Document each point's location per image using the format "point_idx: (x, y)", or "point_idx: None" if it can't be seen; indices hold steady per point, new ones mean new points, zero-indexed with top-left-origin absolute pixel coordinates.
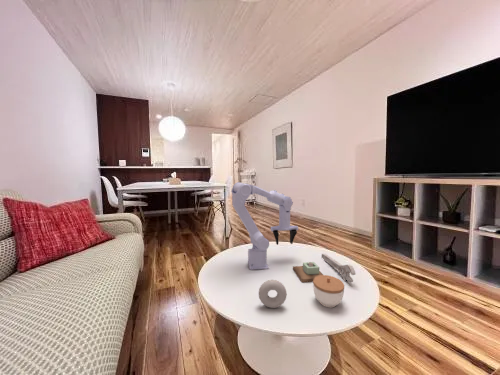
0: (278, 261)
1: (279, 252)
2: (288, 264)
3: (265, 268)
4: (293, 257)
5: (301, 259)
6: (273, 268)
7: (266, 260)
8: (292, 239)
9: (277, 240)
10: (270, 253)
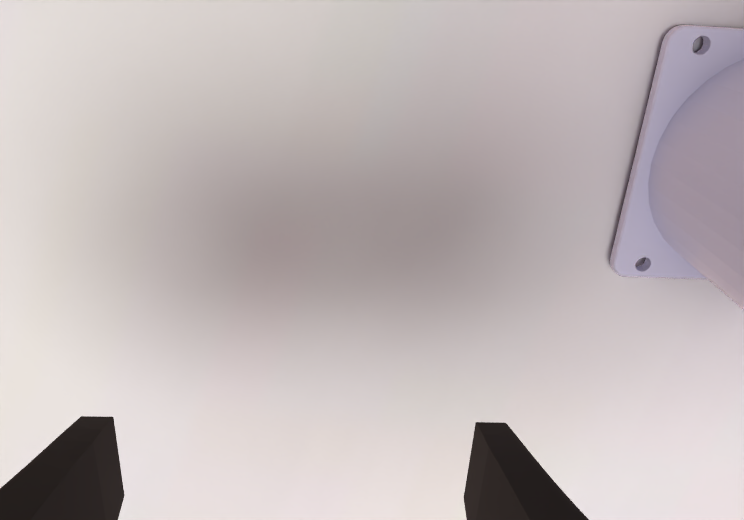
0: (406, 251)
1: (291, 505)
2: (280, 124)
3: (726, 27)
4: (125, 341)
5: (6, 259)
6: (580, 28)
7: (720, 138)
8: (19, 502)
9: (548, 497)
10: (429, 493)
